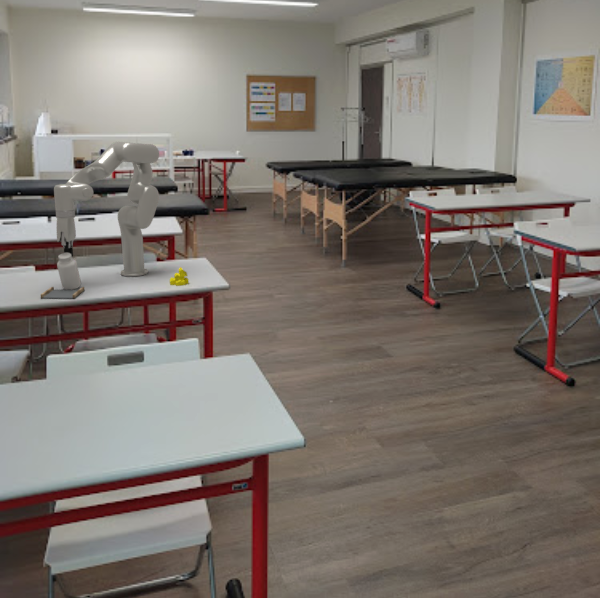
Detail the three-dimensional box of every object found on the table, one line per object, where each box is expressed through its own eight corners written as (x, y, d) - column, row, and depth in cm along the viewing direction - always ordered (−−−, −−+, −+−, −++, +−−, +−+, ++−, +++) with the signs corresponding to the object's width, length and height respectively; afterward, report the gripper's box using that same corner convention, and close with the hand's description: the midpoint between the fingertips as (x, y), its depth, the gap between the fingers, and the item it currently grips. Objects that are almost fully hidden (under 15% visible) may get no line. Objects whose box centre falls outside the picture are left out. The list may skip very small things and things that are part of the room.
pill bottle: (76, 291, 290) (68, 260, 282) (59, 289, 292) (51, 259, 284) (84, 281, 297) (77, 251, 289) (67, 280, 298) (60, 250, 290)
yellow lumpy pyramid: (168, 283, 302) (167, 266, 300) (186, 281, 305) (185, 264, 303) (171, 286, 297) (170, 269, 295) (189, 284, 300) (188, 267, 298)
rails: (52, 290, 290) (51, 286, 290) (84, 291, 290) (84, 287, 289) (40, 298, 279) (40, 294, 278) (74, 299, 278) (74, 294, 278)
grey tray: (52, 290, 290) (52, 289, 290) (84, 291, 290) (84, 289, 290) (40, 298, 279) (40, 297, 279) (74, 299, 278) (74, 297, 278)
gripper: (63, 211, 294) (66, 253, 299) (49, 216, 279) (53, 260, 284) (80, 211, 294) (83, 253, 298) (67, 217, 279) (71, 260, 284)
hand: (68, 256), depth 291 cm, fingers closed
